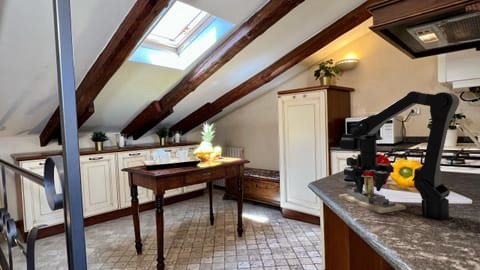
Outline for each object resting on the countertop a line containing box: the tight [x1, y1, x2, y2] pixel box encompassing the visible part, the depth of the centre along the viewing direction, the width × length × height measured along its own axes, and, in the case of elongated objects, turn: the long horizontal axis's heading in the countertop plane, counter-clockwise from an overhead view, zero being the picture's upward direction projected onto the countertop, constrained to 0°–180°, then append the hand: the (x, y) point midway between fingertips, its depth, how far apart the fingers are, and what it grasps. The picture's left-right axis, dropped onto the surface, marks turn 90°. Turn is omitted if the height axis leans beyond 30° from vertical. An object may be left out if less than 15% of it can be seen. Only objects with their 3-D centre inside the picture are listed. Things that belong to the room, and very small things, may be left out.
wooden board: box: [338, 193, 407, 214], centre depth 103 cm, size 22×11×1 cm, turn 17°
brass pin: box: [363, 175, 375, 197], centre depth 103 cm, size 3×3×9 cm
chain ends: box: [346, 186, 396, 208], centre depth 103 cm, size 19×8×3 cm, turn 17°
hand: (369, 192), depth 103 cm, fingers open, 8 cm apart
